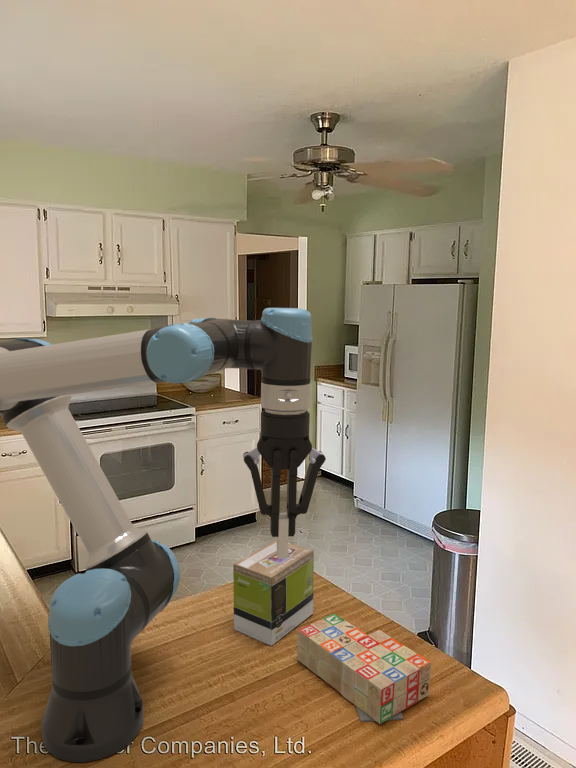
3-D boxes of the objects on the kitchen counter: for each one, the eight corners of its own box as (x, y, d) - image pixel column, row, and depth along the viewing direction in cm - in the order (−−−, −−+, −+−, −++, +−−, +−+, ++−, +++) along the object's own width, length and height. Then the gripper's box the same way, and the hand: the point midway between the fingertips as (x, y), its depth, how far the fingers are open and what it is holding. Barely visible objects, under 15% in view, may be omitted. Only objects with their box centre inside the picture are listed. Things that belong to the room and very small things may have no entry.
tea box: (276, 600, 133) (277, 536, 131) (314, 615, 127) (316, 549, 125) (231, 630, 121) (232, 561, 119) (271, 648, 115) (272, 576, 113)
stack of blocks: (296, 628, 111) (345, 608, 118) (295, 659, 111) (344, 637, 119) (382, 689, 94) (432, 661, 102) (380, 725, 95) (430, 695, 102)
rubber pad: (360, 722, 96) (360, 720, 96) (345, 674, 108) (345, 672, 108) (403, 719, 97) (403, 717, 97) (383, 672, 109) (383, 670, 109)
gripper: (243, 414, 87) (242, 567, 91) (331, 414, 89) (326, 564, 93) (241, 404, 95) (240, 545, 99) (323, 404, 96) (318, 543, 100)
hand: (282, 554), depth 96 cm, fingers closed
